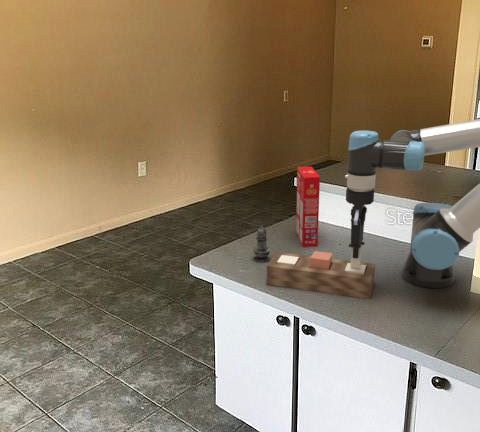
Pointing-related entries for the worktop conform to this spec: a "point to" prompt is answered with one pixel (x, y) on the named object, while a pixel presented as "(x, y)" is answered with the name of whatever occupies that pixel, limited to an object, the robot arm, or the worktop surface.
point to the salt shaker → (261, 246)
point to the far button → (288, 260)
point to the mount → (321, 277)
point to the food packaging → (307, 206)
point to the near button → (355, 269)
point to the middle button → (321, 260)
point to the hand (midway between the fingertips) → (355, 266)
